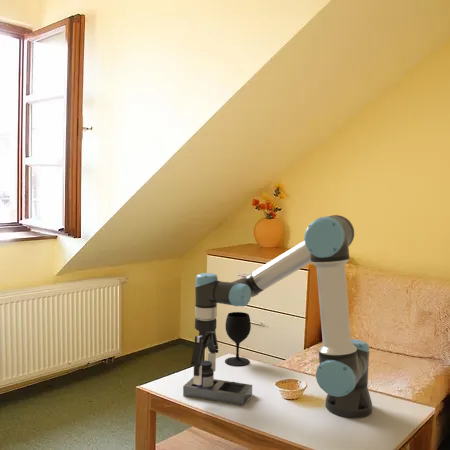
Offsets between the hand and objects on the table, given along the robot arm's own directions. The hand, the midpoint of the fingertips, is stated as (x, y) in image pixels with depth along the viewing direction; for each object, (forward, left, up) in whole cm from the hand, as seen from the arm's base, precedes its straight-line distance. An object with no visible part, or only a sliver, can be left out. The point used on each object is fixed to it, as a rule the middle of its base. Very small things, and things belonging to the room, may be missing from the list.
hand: (204, 377), depth 184 cm
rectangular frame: (-5, 0, -6) cm, 8 cm away
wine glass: (-1, -34, -6) cm, 35 cm away
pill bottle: (0, 0, -6) cm, 6 cm away
